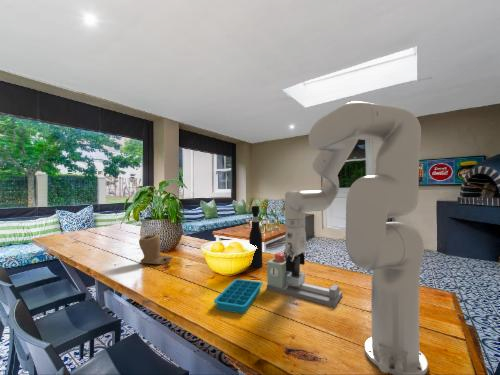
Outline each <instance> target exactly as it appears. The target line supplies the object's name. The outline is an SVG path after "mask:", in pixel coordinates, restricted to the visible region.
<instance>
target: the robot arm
mask: <svg viewBox="0 0 500 375" xmlns="http://www.w3.org/2000/svg"><path fill="white" fill-rule="evenodd" d="M421 139H422V128H421V124H420V121H419V119H418V118H417V116H416V115H415V114H414V113H412V112H411V111H408V110H406V109H405V108H404V109H403V108H400V107H395V106H391V105H386V104H385V105H384V104H380V103H373V102H366V101H357V100H356V101H355V100H354V101H351V102H347V103H345V104H343V105H341V106H339V107H337V108H336V109H334V110H333V111H330V112H329V113H327V114H324V116H322V117H321V118H319V119H318V120H317V121H316V122H314V124H313V125H312V127H311V128H310V131H309V133H308V143H309V146H310V147H311V148H312V149H314V150H316V151H317V150H318V152H317V154H316V156H315V158H314V160H313V161H312V169H313V170H314V172H315V173H316V174H317V175H319V177H322V178H323V179H325V180H324V182H323V184H322V186H321V187H320V189H319V190H308V189H307V190H288V191H286V192H285V194H284V216H285V218H284V221H285V222H284V224H285V225H284V227H285V242H284V243H285V244H284V246H285V247H284V250H283V254H285V260H286V271H289V272H294V271H295V270H294V261H293V260H294V256H295V255H298V256H300V266H301V265H302V266H304V265H305V264H306V263H305V256H306V255H305V251H306V250H307V233H306V232H307V231H306V213H310V212H311V213H312V212H323V211H326V210H327V209H328V208H329V207H330V206H331V205H332V204H333V203H334V201H335V199H336V197H337V196H338V193H339V192H340V191H339V190H340V179H339V176H338V175H339V173H340V171H341V170H342V168H343V166H344V165H345V164H346V162H347V160H348V158H349V156H350V155H351V154H352V152H353V150H354V149H355V146H356V145H357V143H358V142H359V140H363V141H375V142H376V141H377V142H378V141H379V142H382V143H381V144H380V147H379V148H378V151H377V152H376V158H375V172H374V174H372V175H364V176H361V177H358V178H357V179H356V180H355V181H354V182H352V184H351V186H350V187H349V189H348V192H347V194H346V201H345V202H346V203H345V204H346V205H345V247H346V252H347V255H348V257H349V259H350V261H351V262H352V263H353V264H354V265H355V266H356V267H357V268H360V269H361V270H365V271H372V274H371V289H370V290H371V291H370V292H371V297H370V298H371V303H370V304H371V337H369V338H368V339H366V341H365V342H364V352H365V355H366V356H367V358H368V359H369V360H370V361H371V362H372V363H373V364H374V365H375V366H376V367H378V369H379V370H380V371H381V372H382V373H384V374H388V373H389V374H392V375H426V374H427V373H428V370H429V363H428V359H427V358H426V356H425V355H424V353H422V352H421V351H420V277H421V276H420V275H421V268H422V263H423V258H424V252H425V250H424V249H425V247H424V240H423V237H422V236H421V234H420V232H419V231H418V230H417V229H416V228H415V227H413V226H412V225H410V224H409V223H405V222H401V221H389V222H388V221H387V219H391V218H399V217H404V216H408V215H410V214H412V213H413V212H414V211H415V210H416V208H417V206H418V202H419V185H420V184H419V180H420V176H419V175H420V149H421V141H422V140H421ZM291 256H292V257H291Z"/></svg>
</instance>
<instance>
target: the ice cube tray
mask: <svg viewBox="0 0 500 375" xmlns="http://www.w3.org/2000/svg"><path fill="white" fill-rule="evenodd" d="M262 285H263V282H262V281H258V280H249V279H248V280H247V279H239V278H235V279H234V280H233V281H232V282H231V283H229V285H227V286H226V288H225V289H223V290H222V292H220V294H219V295H217V297H215V299H213V303H214V304H216V309H218V310H220V311H225V312H226V311H227V312H233V313H238V314H244V313H246V312H247V310H248V309H249V307H250V306H251V305H252V303H253V302H254V301H255V299H256V297H257V296H258V295H259V293H260V292H261V287H262Z"/></svg>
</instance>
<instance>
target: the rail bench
mask: <svg viewBox="0 0 500 375" xmlns="http://www.w3.org/2000/svg"><path fill="white" fill-rule="evenodd" d="M266 267H267V268H266V280H267V281H266V282H267V283H266V290H270V291H273V292H277V293H281V294H285V295H288V296H292V297H295V298H298V299H303V300H305V301H310V302H314V303H318V304H322V305H325V306H329V307H333V308H336V306H337V304H338V303H339V302H340V300H341V298H342V297H343V291H342V290H340V285H338V284H332V285H331V286H330V288H329V287H324V286H320V285H316V284H312V283H306V282H304V283H302V284H301V288H296V287H292V286H288V284H287V283H286V276H287V275H288V274H289V273H291V272H289V271H286V260H285V262H283V263H281V262H276V261H275V257H274V258H271V259H269V260H268V261H266Z"/></svg>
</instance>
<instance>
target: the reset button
mask: <svg viewBox="0 0 500 375" xmlns="http://www.w3.org/2000/svg"><path fill="white" fill-rule="evenodd" d="M274 258H275V261H276V262H281V263H283V262H285V254H284V253H275V254H274Z"/></svg>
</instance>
